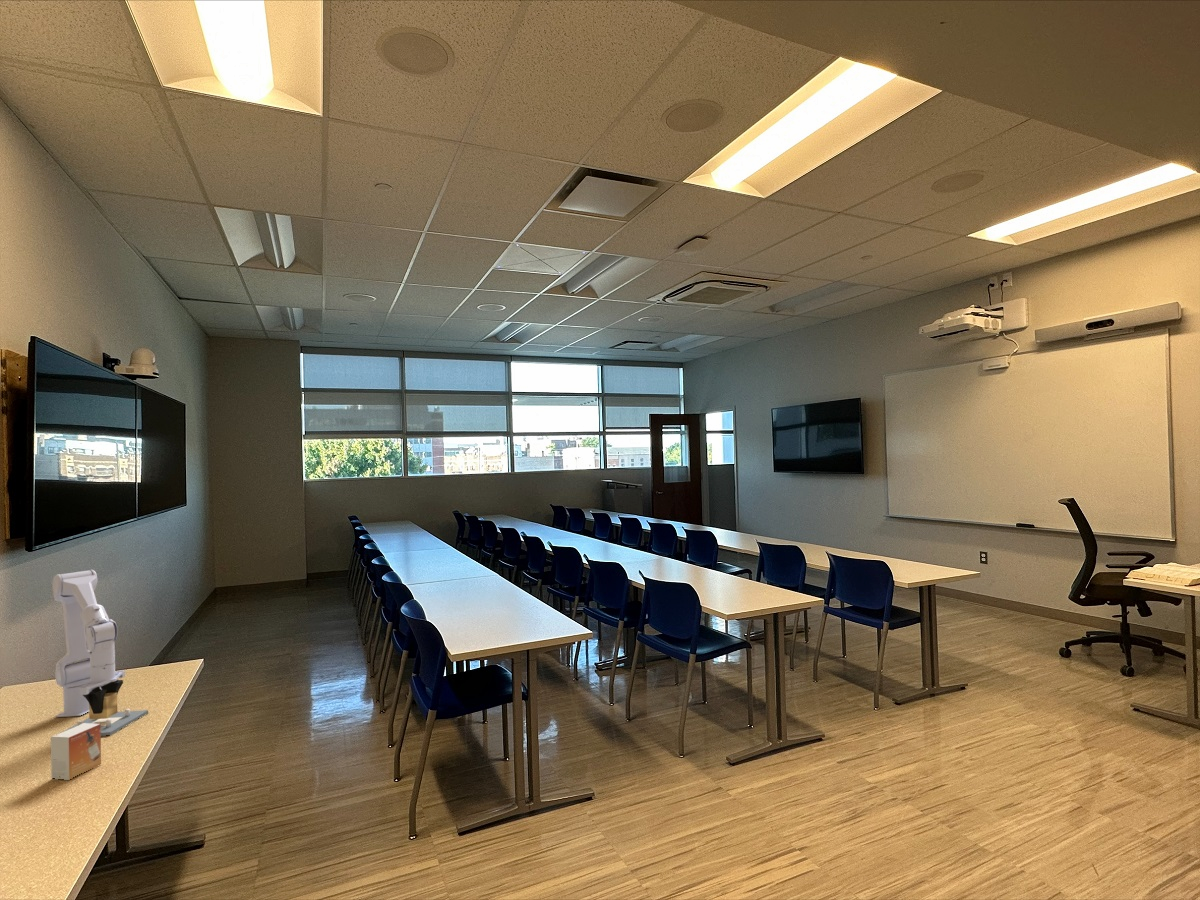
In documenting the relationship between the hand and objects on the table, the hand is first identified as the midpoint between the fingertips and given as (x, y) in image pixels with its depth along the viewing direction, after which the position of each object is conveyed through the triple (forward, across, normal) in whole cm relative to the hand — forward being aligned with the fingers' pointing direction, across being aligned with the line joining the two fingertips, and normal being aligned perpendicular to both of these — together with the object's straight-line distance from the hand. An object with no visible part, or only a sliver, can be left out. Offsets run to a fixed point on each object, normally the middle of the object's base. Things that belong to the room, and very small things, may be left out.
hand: (103, 709), depth 177 cm
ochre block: (+2, 0, 0) cm, 2 cm away
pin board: (+5, 0, 0) cm, 5 cm away
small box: (+5, -28, -15) cm, 32 cm away
